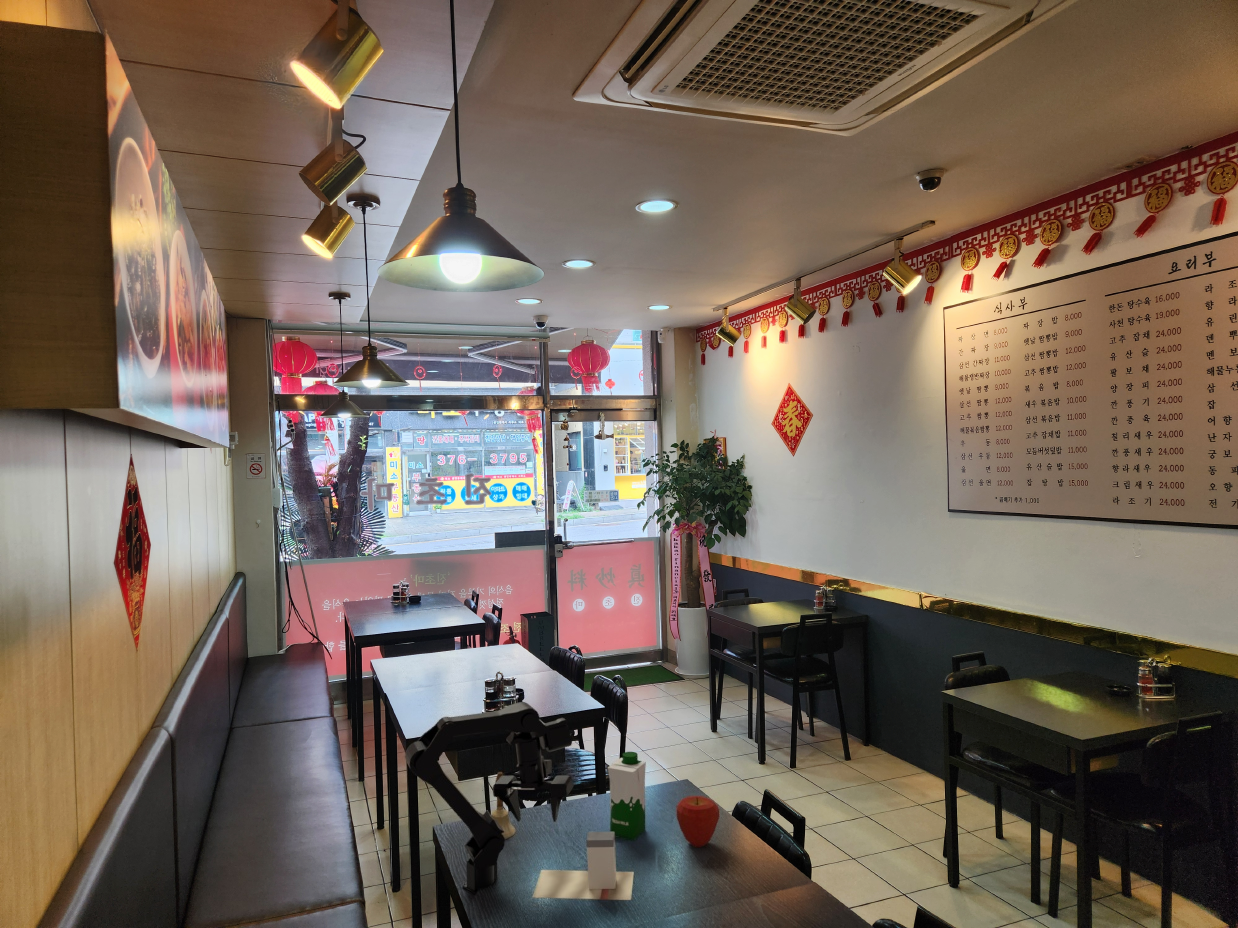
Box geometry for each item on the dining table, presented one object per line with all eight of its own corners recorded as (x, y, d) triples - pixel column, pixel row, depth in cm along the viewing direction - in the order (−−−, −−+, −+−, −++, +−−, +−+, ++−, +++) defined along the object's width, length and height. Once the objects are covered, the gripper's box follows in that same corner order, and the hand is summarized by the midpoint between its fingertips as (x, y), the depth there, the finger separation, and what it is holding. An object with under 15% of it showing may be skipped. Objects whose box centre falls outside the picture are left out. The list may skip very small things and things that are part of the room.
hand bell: (518, 825, 209) (517, 766, 210) (511, 840, 201) (510, 778, 201) (488, 825, 210) (488, 766, 210) (480, 839, 202) (479, 778, 202)
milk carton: (649, 828, 207) (648, 753, 207) (634, 843, 199) (633, 765, 199) (620, 822, 211) (619, 748, 211) (604, 836, 203) (603, 759, 203)
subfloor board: (532, 901, 172) (532, 896, 172) (541, 873, 184) (541, 869, 184) (630, 904, 170) (630, 899, 170) (633, 875, 182) (633, 871, 182)
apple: (727, 849, 195) (726, 801, 195) (689, 857, 191) (688, 808, 191) (706, 830, 205) (705, 785, 205) (670, 838, 201) (669, 791, 201)
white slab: (588, 888, 175) (586, 840, 175) (590, 879, 179) (588, 831, 179) (615, 888, 175) (613, 839, 175) (616, 879, 179) (614, 831, 179)
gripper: (576, 742, 190) (583, 804, 190) (506, 743, 194) (513, 804, 195) (562, 762, 179) (570, 827, 179) (488, 762, 184) (496, 826, 184)
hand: (537, 820), depth 185 cm, fingers open, 9 cm apart
